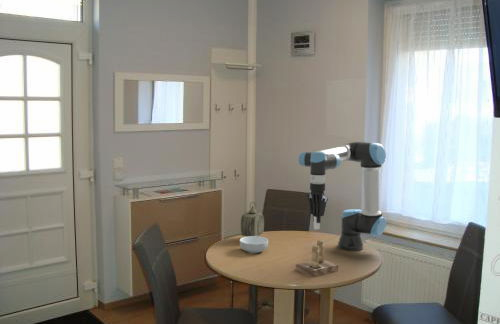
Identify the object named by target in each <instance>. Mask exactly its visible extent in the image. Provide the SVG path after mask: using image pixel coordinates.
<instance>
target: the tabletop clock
mask: <svg viewBox="0 0 500 324" xmlns="http://www.w3.org/2000/svg"><path fill="white" fill-rule="evenodd" d="M252 204H254V206H253V205H252ZM256 206H257V204H256V202H255V201H251V202H250V203H249V210H248V211H247V212H244V213H242V215H241V218H240V234H241V235H240V236H243V237H247V236H260V235H262V234H263V233H264V229H265V216H264V214H262V212H257V210H256V209H255V208H256Z"/></svg>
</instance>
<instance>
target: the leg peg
mask: <svg viewBox="0 0 500 324" xmlns="http://www.w3.org/2000/svg"><path fill="white" fill-rule="evenodd" d="M311 261H312V267H311V268H313V269H318V268H319V246H317V245H312V246H311Z"/></svg>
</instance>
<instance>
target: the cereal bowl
mask: <svg viewBox="0 0 500 324" xmlns="http://www.w3.org/2000/svg"><path fill="white" fill-rule="evenodd" d="M239 246H240V248H241V249H242V250H243V251H245V252H247V253H248V254H249V253H250V254H259V253H261V252H263V251H265V250H266V249H268V246H269V239H268V237H267V238H266V237H265V236H260V235H259V236H247V237H246V236H243V237H241V238H240V239H239Z"/></svg>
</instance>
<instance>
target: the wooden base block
mask: <svg viewBox="0 0 500 324" xmlns="http://www.w3.org/2000/svg"><path fill="white" fill-rule="evenodd" d="M316 246H319V268H318V269H313V268H311V267H312V260H309V261H304V262H299V263H295V266H294V267H295V271H296V272H299V273H302V274H303V275H306V276H309V277H311V278H314V277H319V276H323V275H327V274H330V273H334V272H338V271H339V264H337V263H333V262H331V261H328V260H326V259H324V258H325V257H324V254H325V241H324V240H317V242H316Z"/></svg>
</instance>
